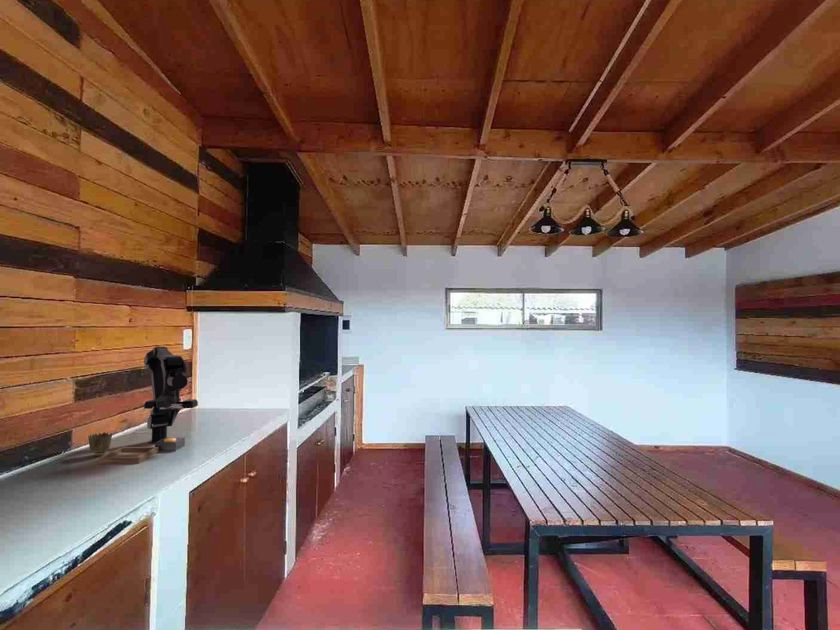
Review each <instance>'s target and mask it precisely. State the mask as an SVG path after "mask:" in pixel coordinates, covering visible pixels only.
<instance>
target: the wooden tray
mask: <svg viewBox="0 0 840 630" xmlns="http://www.w3.org/2000/svg"><path fill="white" fill-rule="evenodd" d="M159 453H160V452H159V447H155V446H140V447H135V446H134V447H133V446H132V447H130V446H129V447H119V448H117V449H115V450H112V451H111V452H109V453H105V455H103V456H99V457H98V458H97V464H98V465H121V464H123V465H125V464H126V465H129V464H140V463H142V462H144V461H145V460H147V459H149V458H151V457H153V456H154V455H156V454H159Z"/></svg>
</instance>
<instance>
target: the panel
mask: <svg viewBox="0 0 840 630" xmlns="http://www.w3.org/2000/svg"><path fill="white" fill-rule="evenodd" d="M167 438H168V437H167ZM167 438H163V439H161V440H159V441H157V442H155V443H154V447H159V451H162V452H177V451H178V449H179V450H180V449H181V447H182V448H183V446H184V447H185V446H186V444H185V443H186V437H185V436H184V437H182V436H181V437H174V436H173V437H172V438H176V441H174V442H164V439H167ZM176 450H177V451H176Z"/></svg>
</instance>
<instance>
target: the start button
mask: <svg viewBox="0 0 840 630" xmlns="http://www.w3.org/2000/svg"><path fill="white" fill-rule="evenodd" d="M174 441H176V438H173V437H167V439H164V442H174Z"/></svg>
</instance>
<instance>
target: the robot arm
mask: <svg viewBox="0 0 840 630" xmlns="http://www.w3.org/2000/svg"><path fill="white" fill-rule="evenodd" d="M143 364H144V366H145V370H146V371H147V372H148V373H149V375H150V380H151V388H152V389H151V391H152V397H153V398H152V399H149V400H146V401H145V402H144V404H143V409H146V410H147V409H151V410H150V413H149V416H148V419H147V421H146V426H147V429H149V430H151V439H150V440H148V441H147V443H148V444H151V443H152V444H155V442H157V441H159V440H161V439H163V438H168V427H172V426H173V424H174V422H175V420H176V418H177V417H178V414H179V412H180V411H181V410H182V409H194V408H195V407H198V406H199V404H198V403H199V401H198V400H197V399H195V398H194V399H193V398H191V399H185V400H183V401H182V398H181V397H180V393H181V391H182V389H184V388H185V387H187V385H188V378H187V376H185V375H184V373H185V374H186V373H187V370H188V369H187V366H186V363H185V360H184V358H183V357H182V355H178V354H173V353H172V352H171V351H170V350H169V348H168V347H166V346H155V347H153V348H152V350H150V351H148V352H147V353H146V354H145V356H144V358H143Z"/></svg>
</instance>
